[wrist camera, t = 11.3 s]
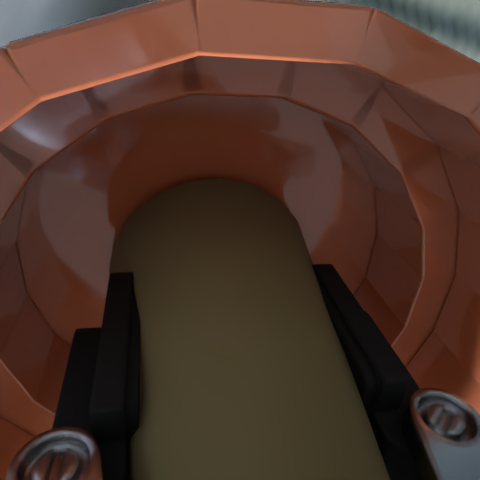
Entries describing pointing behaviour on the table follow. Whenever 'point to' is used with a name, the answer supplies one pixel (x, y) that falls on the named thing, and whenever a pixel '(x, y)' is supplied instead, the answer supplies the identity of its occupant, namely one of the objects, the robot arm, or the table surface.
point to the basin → (239, 169)
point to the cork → (237, 345)
